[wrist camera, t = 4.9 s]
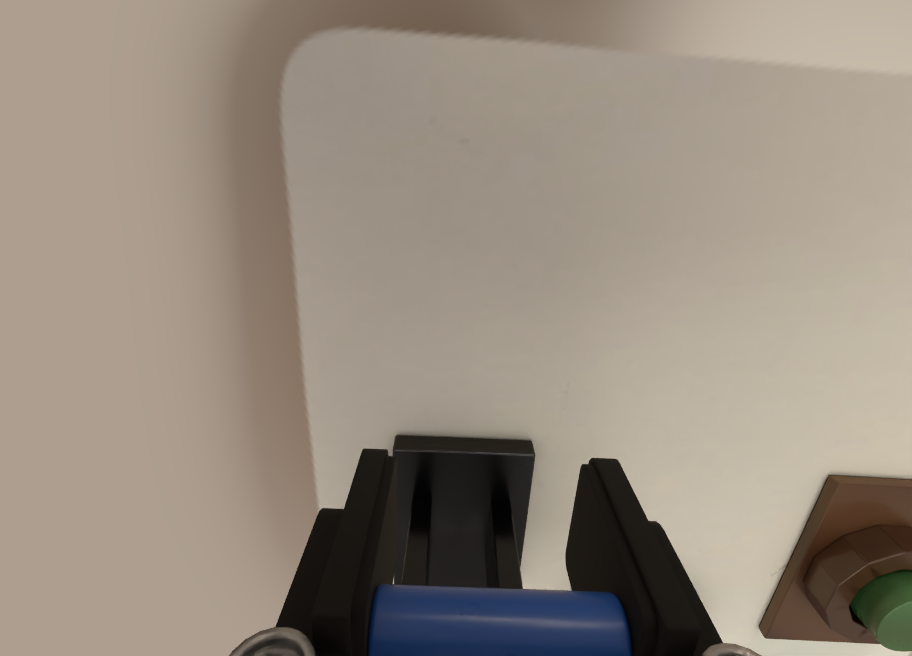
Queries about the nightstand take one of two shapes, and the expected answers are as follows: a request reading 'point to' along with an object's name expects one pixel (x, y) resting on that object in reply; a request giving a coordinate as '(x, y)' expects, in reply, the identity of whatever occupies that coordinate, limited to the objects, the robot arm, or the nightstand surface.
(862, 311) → the nightstand surface
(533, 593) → the light lever
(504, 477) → the switch bracket
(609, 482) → the robot arm
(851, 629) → the button block
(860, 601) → the light button
